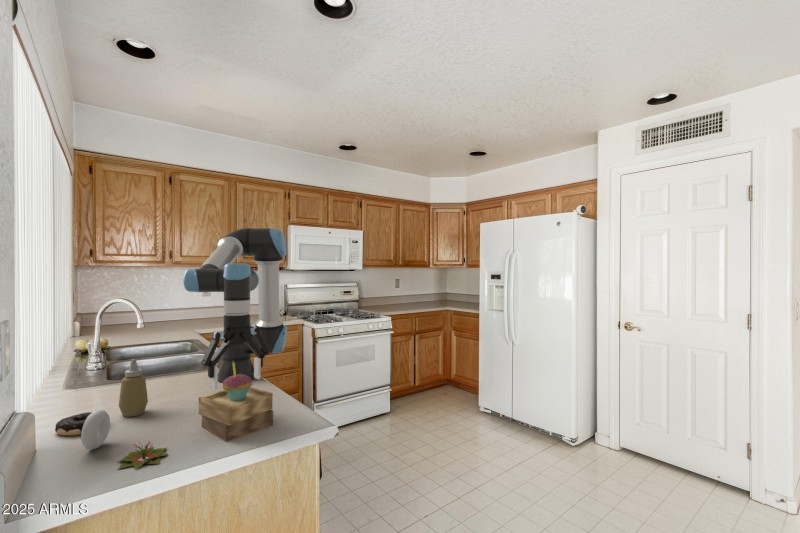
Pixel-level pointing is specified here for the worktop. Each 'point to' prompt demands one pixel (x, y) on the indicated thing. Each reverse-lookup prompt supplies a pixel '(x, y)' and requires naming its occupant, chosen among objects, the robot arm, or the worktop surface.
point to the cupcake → (237, 385)
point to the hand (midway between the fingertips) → (236, 383)
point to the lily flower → (143, 456)
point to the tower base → (238, 426)
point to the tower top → (235, 406)
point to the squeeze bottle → (133, 392)
